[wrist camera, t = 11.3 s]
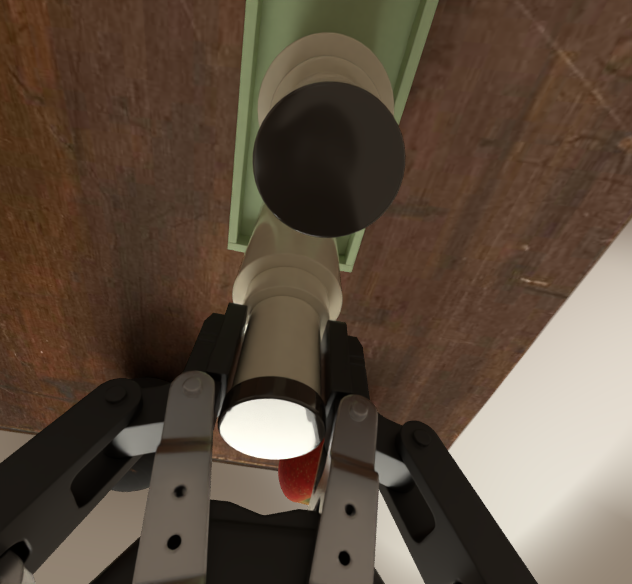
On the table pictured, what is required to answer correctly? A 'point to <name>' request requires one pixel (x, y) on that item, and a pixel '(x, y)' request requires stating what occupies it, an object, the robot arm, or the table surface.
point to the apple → (299, 475)
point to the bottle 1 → (327, 137)
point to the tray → (292, 24)
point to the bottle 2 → (281, 341)
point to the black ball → (143, 467)
